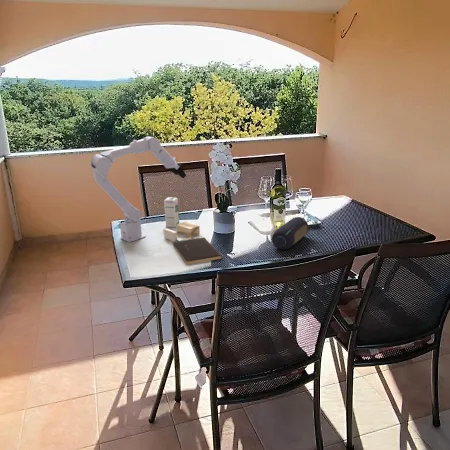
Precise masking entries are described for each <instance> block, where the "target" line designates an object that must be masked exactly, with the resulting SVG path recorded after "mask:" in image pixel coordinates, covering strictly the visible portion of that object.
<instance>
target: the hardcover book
mask: <svg viewBox="0 0 450 450" xmlns="http://www.w3.org/2000/svg"><path fill="white" fill-rule="evenodd" d="M172 245H173V247H174V248H175V250H176V252H177V253H178V254H179V256H180V257H181V258H182V259H183V261H184V263H185V264H186V265H192V263H193V264H198V262H199V263H205V262H209V260H211V261H215V260H222V259H223V256H222V254H221V253H220V252H219V251H218V250H217V249H216V248H215V247H214V246H213V245H212V244H211V243H210V242H209V241H208V240H207V238H206V237H198V238H192V239H190V240H184V241H180V240H179V241H176V242H174V241H172ZM204 261H205V262H204Z"/></svg>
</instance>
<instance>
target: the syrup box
mask: <svg viewBox="0 0 450 450" xmlns="http://www.w3.org/2000/svg"><path fill="white" fill-rule="evenodd" d="M163 204H164V205H163V207H164V219H165V226H166V228H167V227H168V228H177V224H180V214H179V199H178V197H175V196H174V197H173V196H172V197H171V196H169V197H166V198H165V199H164V200H163Z"/></svg>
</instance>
